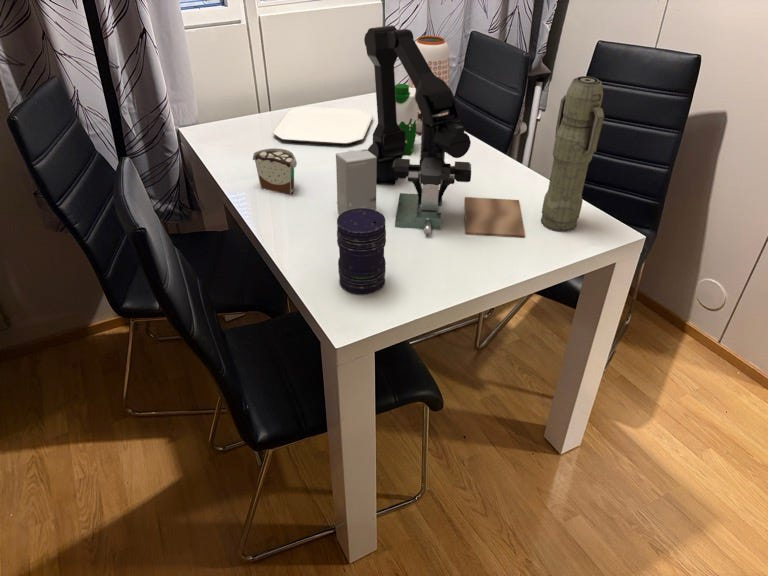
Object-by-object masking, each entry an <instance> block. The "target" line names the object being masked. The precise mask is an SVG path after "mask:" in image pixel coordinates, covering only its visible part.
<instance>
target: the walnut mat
mask: <svg viewBox="0 0 768 576" xmlns="http://www.w3.org/2000/svg"><path fill="white" fill-rule="evenodd" d="M520 204H521V203H520V200H519V199H510V198H508V199H506V198H489V197H487V198H486V197H471V196H470V197H469V196H464V229H465V232H464V233H465V235H470V236H471V235H472V236H487V237H488V236H491V237H507V238H521V239H522V238H525V237H526V234H525V227H524V221H523V217H522V216H523V215H522V210H521V205H520Z"/></svg>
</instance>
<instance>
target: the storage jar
mask: <svg viewBox="0 0 768 576" xmlns="http://www.w3.org/2000/svg"><path fill="white" fill-rule="evenodd" d="M336 225H337V227H336V238H337V239H336V241H337V242H336V243H337V246H338V250H339V252H338V253H339V257H338V260H337V261H338V262H337V263H338V264H337V265H338V267H337V268H338V277H339V286H340V287H341V289H342V290H343V291H345V292H347V293H348V294H352V295H357V296H366V295H367V296H368V295H372V294H375V293H377V292H379V291H381V289H383V288H384V286H385V283H386V282H385V281H386V280H385V279H386V278H385V277H386V268H387V267H386V265H387V263H386V257H385V247H386V243H387V238H386V237H387V229H386V216H385V215H384V214H383V213H382V212H380V211H378V210H377V209H376V210H373V209H367V208H356V209H351V210H347V211H345V212H343V213H341V214H339V215H338V216H337V218H336Z"/></svg>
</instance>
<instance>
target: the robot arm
mask: <svg viewBox="0 0 768 576" xmlns="http://www.w3.org/2000/svg"><path fill="white" fill-rule="evenodd" d="M363 41H364V46H365V50H366V55H367V56H368V58H369V60H370V61H371V63H372V64H373V66H374V80H375V81H374V83H375V93H376V94H375V95H376V96H375V97H376V98H375V99H376V111H377V112H376V113H377V125H376V127H375V129H374V131H373V134H372V143H371V144H370V146H369V147H368V148H367V149H366V150H368V151H369V152H370V153H372V154H373V155H375V156H376V157H377V179H376V185H391V186H393V185H396V183H397V181H398V179H401V180H402V179H403V180H405V179H407V182H409V183H412V184H413V185H414V187H415V191H416V194H418V197H419V200H420V202H421V198H422V188H423V184H424V185H427V184H433V185H439V194H438V203H440V200H441V198H442V199H443V197H444V194H445V192H446V190H447V188H448V187H449V186H450V185H454V184H455V183H456V182H457V183H458V182H459V183H469V182H471V178H472V164H471V163H470V162H469V161H454V165H451V163H446V162H445V157H446V156H445V154H447V155H449V156H451V157H452V158H454V159H459V158H462V157H464V156H465V155H466V154H467V153H468V151H469V150H470V147H471V143H472V142H471V138H470V136H469V135H468V134H467V133H466V132H465V127H464V126H462V125H460V124H458V123H456V122H460V121H461V120H462V119H461V116H460V113H461V112H460V110H459V107H458V105H457V102H456V99H455V96H454V93H453V90H452V89H451V88H450V86H449V87H448V86H447V84H446V83H445V82H444V81H443V80H442V79H440V78H438V77H436V76H435V75H434V74H433V72H432V71H431V69H430V67H429V65H428V64H427V62H426V60H425V59H424V57H423V55H422V53H421V52H420V50H419V48H418V46H417V45H416V43H415V41H416V40H414V34H413V32H412V30H411V29H407V28H402V29H397V27H395V25H385V26H376V27H371V28H368V30H367V32H366V33H365V34H364V39H363ZM397 60H399V61H400V63H401V65H402V66H403V68H404V70H405V72H406V73H407V75H408V78H409V77H410V79H411V81H412V82H413V84H414V86H415V89H416V93H415V100H416V102H417V104H418V107H419V110H420V112H421V113H420V114H419V115H418V118H419V119H421V120H422V134H421V138H420V141H421V142H420V158H419V159H420V160H419V164H411V159H410V158H403V157H404V155H403V154H404V151H405V146H406V143H405V132H404V130H401V128H400V127H399V126H398V124H397V115H396V95H395V85H396V80H395V79H396V78H395V77H396V76H395V64H396V62H397ZM446 112H448V114H447V115H442V116H438V115H437V114H441V113H446ZM455 181H456V182H455Z"/></svg>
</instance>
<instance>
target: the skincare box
mask: <svg viewBox="0 0 768 576" xmlns="http://www.w3.org/2000/svg"><path fill="white" fill-rule="evenodd" d="M335 163H336V165H335V168H336V169H335V170H336V202H337V203H336V205H337V213H338V214H339V215H340V214H341V213H343V212H345V211H347V210H351V209H356V208H367V209H373V210H376V211H377V184H376V179H377V157H376V156H375V155H373V154H372V153H370V152H369V151H368V150H367V149H366V148H364V149H357V150H356V149H355V150H347V151H342V152H338V153H336V154H335Z"/></svg>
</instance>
